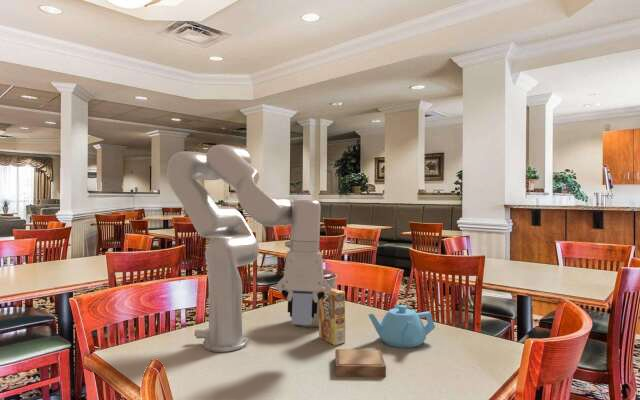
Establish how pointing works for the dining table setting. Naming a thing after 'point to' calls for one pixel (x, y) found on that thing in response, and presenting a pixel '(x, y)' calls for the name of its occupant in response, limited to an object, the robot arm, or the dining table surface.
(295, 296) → the block
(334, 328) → the candy box
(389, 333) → the teapot
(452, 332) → the dining table surface
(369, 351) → the plinth
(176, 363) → the dining table surface
